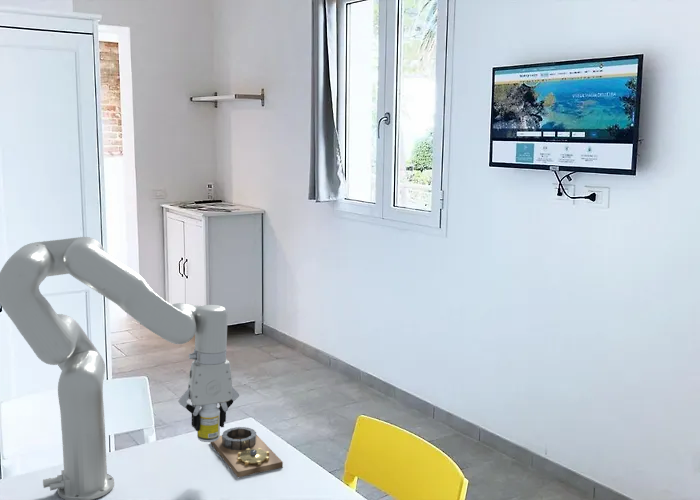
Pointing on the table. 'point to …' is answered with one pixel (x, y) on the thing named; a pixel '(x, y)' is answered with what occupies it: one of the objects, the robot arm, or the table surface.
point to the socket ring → (239, 444)
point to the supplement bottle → (209, 423)
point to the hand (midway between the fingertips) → (208, 426)
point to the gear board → (240, 468)
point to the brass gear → (253, 456)
